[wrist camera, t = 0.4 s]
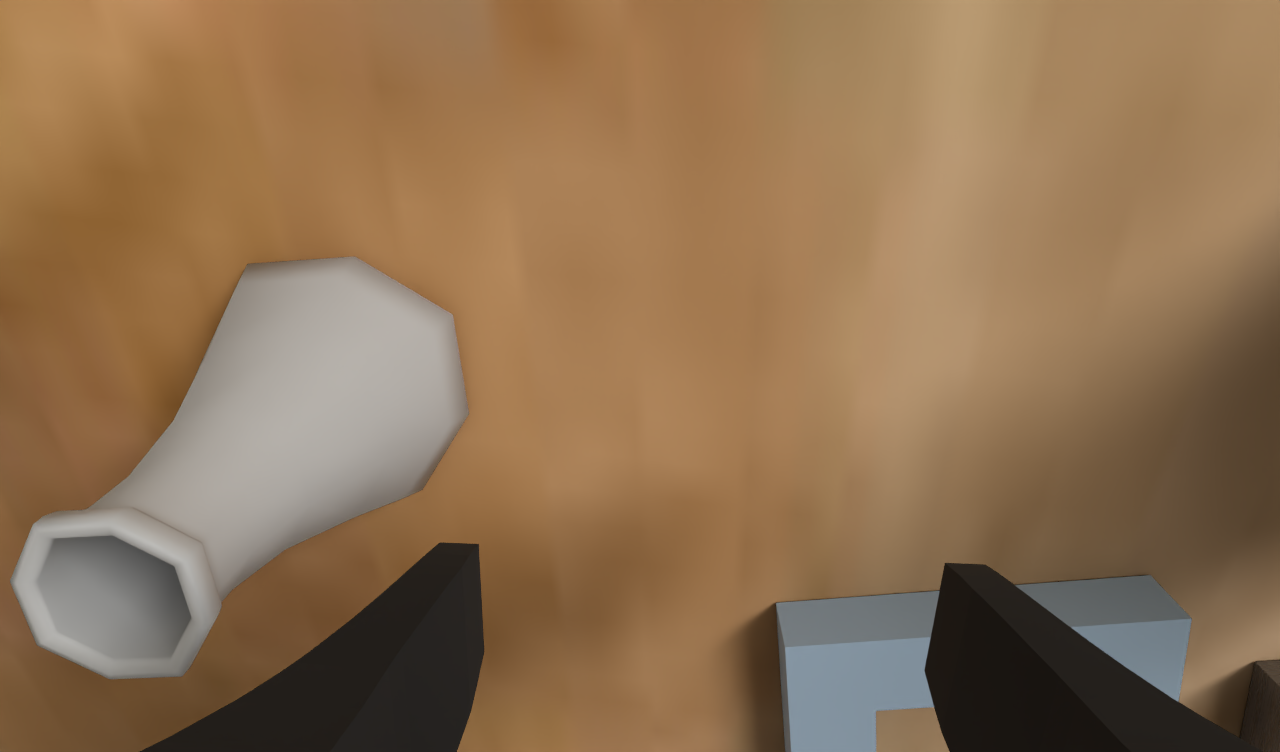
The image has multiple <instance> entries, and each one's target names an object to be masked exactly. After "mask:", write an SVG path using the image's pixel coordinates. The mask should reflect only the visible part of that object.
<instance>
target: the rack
mask: <svg viewBox="0 0 1280 752" xmlns="http://www.w3.org/2000/svg"><path fill="white" fill-rule="evenodd" d="M1015 586H1016V587H1018V588H1019V589H1020V590H1022V591H1023V592H1024V593H1026V594H1027V595H1028V596H1030V597H1031V598H1032V599H1034V600H1035V601H1036V602H1038V603H1039V604H1040V605H1042V606H1043V607H1044V608H1046V609H1047V610H1048V611H1050V612H1051V613H1052V614H1054V615H1055V616H1056V617H1058V618H1059V619H1060V620H1062V621H1063V622H1064V623H1066V624H1067V625H1068V626H1070V627H1071V628H1072V629H1074V630H1075V631H1076V632H1078V633H1079V634H1080V635H1082V636H1083V637H1084V638H1086V639H1087V640H1088V641H1090V642H1091V643H1093V644H1094V645H1095V646H1097V647H1098V648H1100V649H1101V650H1102V651H1104V652H1105V653H1106V654H1108V655H1109V656H1111V657H1112V658H1114V659H1115V660H1116V661H1118V662H1119V663H1121V664H1122V665H1124V666H1125V667H1126V668H1128V669H1129V670H1131V671H1132V672H1134V673H1135V674H1137V675H1138V676H1140V677H1141V678H1143V679H1144V680H1146V681H1147V682H1149V683H1150V684H1152V685H1153V686H1155V687H1156V688H1158V689H1159V690H1161V691H1162V692H1164V693H1165V694H1167V695H1168V696H1170V697H1171V698H1173V699H1174V700H1176V701H1179V695H1180V689H1181V683H1182V676H1183V670H1184V664H1185V658H1186V652H1187V645H1188V639H1189V633H1190V627H1191V621H1192V618H1191V617H1190V616H1189V615H1188V614H1187V613H1186V612H1185V611H1184V610H1183V609H1182V608H1181V607H1180V606H1179V605H1178V604H1177V603H1176V602H1175V600H1174V599H1173V598H1172V597H1171V596H1170V595H1169V594H1168V593H1167V592H1166V591H1165V590H1164V589H1163V588H1162V587H1161V586H1160V585H1159V584H1158V583H1157V582H1156V581H1155V580H1154V578H1153V577H1152V576H1151V575H1145V576H1131V577H1118V578H1104V579H1091V580H1077V581H1064V582H1050V583H1037V584H1023V585H1015ZM939 592H940V591H929V592H916V593H902V594H889V595H875V596H862V597H849V598H835V599H822V600H808V601H795V602H781V603H776V613H777V629H778V644H779V660H780V676H781V692H782V708H783V724H784V740H785V752H876V711H880V710H896V709H911V708H927V707H934V705H933V701H932V697H931V693H930V690H929V686H928V682H927V679H926V675H925V671H924V669H925V664H926V659H927V654H928V649H929V643H930V638H931V633H932V628H933V623H934V618H935V612H936V607H937V602H938V597H939Z"/></svg>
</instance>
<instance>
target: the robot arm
mask: <svg viewBox="0 0 1280 752" xmlns="http://www.w3.org/2000/svg"><path fill="white" fill-rule="evenodd" d="M483 655H484V639H483V620H482V600H481V581H480V562H479V544H462V543H439V544H438V545H436V546H435V547H434V548H433V549H432V550H431V551H429V552H428V553H427V554H426V555H425V556H424V557H422V558H421V559H420V560H419V561H418V562H417V563H416V564H415V565H413V566H412V567H411V568H410V569H409V570H408V571H407V572H406V573H405V574H403V575H402V576H401V577H400V578H399V579H398V580H397V581H396V582H394V583H393V584H392V585H391V586H390V587H389V588H388V589H387V590H385V591H384V592H383V593H382V594H381V595H380V596H379V597H377V598H376V599H375V600H374V601H373V602H371V603H370V604H369V605H368V606H367V607H366V608H364V609H363V610H362V611H361V612H360V613H359V614H357V615H356V616H355V617H354V618H353V619H351V620H350V621H349V622H347V623H346V624H345V625H344V626H342V627H341V628H340V629H338V630H337V631H336V632H335V633H333V634H332V635H331V636H329V637H328V638H327V639H325V640H324V641H323V642H322V643H320V644H319V645H318V646H316V647H315V648H314V649H313V650H311V651H310V652H309V653H307V654H306V655H304V656H303V657H302V658H300V659H299V660H297V661H296V662H295V663H293V664H292V665H290V666H289V667H287V668H286V669H284V670H283V671H281V672H280V673H278V674H277V675H275V676H274V677H272V678H271V679H269V680H267V681H266V682H264V683H263V684H261V685H260V686H258V687H257V688H255V689H253V690H252V691H250V692H249V693H247V694H245V695H244V696H242V697H240V698H239V699H237V700H235V701H234V702H232V703H230V704H228V705H227V706H225V707H223V708H221V709H219V710H218V711H216V712H214V713H212V714H210V715H208V716H207V717H205V718H203V719H201V720H199V721H198V722H196V723H194V724H192V725H190V726H189V727H187V728H185V729H183V730H181V731H179V732H178V733H176V734H174V735H172V736H170V737H168V738H166V739H164V740H162V741H160V742H158V743H156V744H154V745H152V746H150V747H148V748H146V749H144V750H142V751H140V752H457V749H458V747H459V744H460V741H461V738H462V735H463V733H464V730H465V727H466V724H467V721H468V718H469V715H470V712H471V708H472V704H473V700H474V695H475V691H476V687H477V682H478V678H479V673H480V668H481V664H482V659H483ZM924 671H925V675H926V679H927V682H928V686H929V690H930V693H931V697H932V701H933V705H934V708H935V711H936V715H937V718H938V721H939V724H940V728H941V731H942V734H943V736H944V739H945V741H946V744H947V746H948V748H949V751H950V752H1263V751H1261V750H1259V749H1258V748H1256V747H1254V746H1252V745H1250V744H1248V743H1247V742H1245V741H1243V740H1242V739H1240V738H1238V737H1236V736H1235V735H1233V734H1231V733H1230V732H1228V731H1226V730H1224V729H1223V728H1221V727H1219V726H1218V725H1216V724H1214V723H1212V722H1211V721H1209V720H1207V719H1206V718H1204V717H1202V716H1200V715H1199V714H1197V713H1195V712H1194V711H1192V710H1191V709H1189V708H1187V707H1186V706H1184V705H1182V704H1181V703H1179V702H1178V701H1176V700H1174V699H1173V698H1171V697H1170V696H1168V695H1167V694H1165V693H1164V692H1162V691H1161V690H1159V689H1158V688H1156V687H1155V686H1153V685H1152V684H1150V683H1149V682H1147V681H1146V680H1144V679H1143V678H1141V677H1140V676H1138V675H1137V674H1135V673H1134V672H1132V671H1131V670H1129V669H1128V668H1126V667H1125V666H1124V665H1122V664H1121V663H1119V662H1118V661H1116V660H1115V659H1114V658H1112V657H1111V656H1109V655H1108V654H1106V653H1105V652H1104V651H1102V650H1101V649H1100V648H1098V647H1097V646H1095V645H1094V644H1093V643H1091V642H1090V641H1088V640H1087V639H1086V638H1084V637H1083V636H1082V635H1080V634H1079V633H1078V632H1076V631H1075V630H1074V629H1072V628H1071V627H1070V626H1068V625H1067V624H1066V623H1064V622H1063V621H1062V620H1060V619H1059V618H1058V617H1056V616H1055V615H1054V614H1052V613H1051V612H1050V611H1048V610H1047V609H1046V608H1044V607H1043V606H1042V605H1040V604H1039V603H1038V602H1036V601H1035V600H1034V599H1032V598H1031V597H1030V596H1028V595H1027V594H1026V593H1024V592H1023V591H1022V590H1020V589H1019V588H1018V587H1016V586H1015V585H1014V584H1012V583H1011V582H1010V581H1008V580H1007V579H1006V578H1004V577H1003V576H1001V575H1000V574H999V573H997V572H996V571H994V570H993V569H991V568H990V567H988V566H986V565H981V564H956V563H945V566H944V571H943V576H942V581H941V587H940V592H939V597H938V602H937V607H936V612H935V618H934V623H933V628H932V633H931V638H930V643H929V649H928V654H927V659H926V664H925V669H924Z"/></svg>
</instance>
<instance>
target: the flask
mask: <svg viewBox="0 0 1280 752" xmlns="http://www.w3.org/2000/svg"><path fill="white" fill-rule="evenodd" d="M468 415H469V410H468V404H467V398H466V392H465V386H464V380H463V374H462V368H461V362H460V356H459V350H458V344H457V338H456V332H455V325H454V319H453V315H452V314H451V313H449V312H447V311H446V310H444V309H442V308H441V307H439V306H437V305H436V304H434V303H432V302H431V301H429V300H427V299H426V298H424V297H422V296H421V295H419V294H417V293H415V292H414V291H412V290H410V289H409V288H407V287H405V286H404V285H402V284H400V283H399V282H397V281H395V280H394V279H392V278H390V277H389V276H387V275H385V274H384V273H382V272H380V271H378V270H377V269H375V268H373V267H372V266H370V265H368V264H367V263H365V262H363V261H362V260H360V259H358V258H357V257H340V258H326V259H311V260H297V261H282V262H268V263H253V264H247V266H246V268H245V270H244V272H243V274H242V276H241V278H240V280H239V282H238V284H237V286H236V289H235V291H234V293H233V295H232V297H231V299H230V302H229V304H228V306H227V308H226V310H225V312H224V315H223V317H222V319H221V321H220V323H219V325H218V328H217V330H216V332H215V334H214V336H213V338H212V341H211V343H210V345H209V347H208V349H207V351H206V354H205V356H204V358H203V360H202V362H201V364H200V367H199V369H198V371H197V374H196V376H195V379H194V381H193V383H192V385H191V387H190V389H189V391H188V393H187V395H186V397H185V399H184V401H183V403H182V405H181V407H180V409H179V411H178V413H177V415H176V417H175V419H174V421H173V422H172V423H171V424H170V426H169V427H168V428H167V429H166V431H165V432H164V433H163V434H162V436H161V437H160V438H159V439H158V440H157V442H156V443H155V444H154V445H153V447H152V448H151V449H150V450H149V452H148V453H147V454H146V455H145V457H144V458H143V459H142V460H141V462H140V463H139V464H138V465H137V466H136V468H135V469H134V470H133V471H132V473H131V474H130V475H129V476H128V477H127V478H126V479H124V480H123V481H122V482H121V483H119V484H118V485H117V486H116V487H114V488H113V489H112V490H111V491H109V492H108V493H107V494H106V495H104V496H103V497H102V498H101V499H99V500H98V501H97V502H96V503H94V504H93V505H92V506H90V507H89V508H87V509H85V510H71V511H56V512H53V513H51V514H48V515H45V516H43V517H42V518H40V519H39V520H38V521H37V522H36V523H34V524H33V526H32V529H31V531H30V533H29V536H28V538H27V541H26V543H25V546H24V548H23V551H22V553H21V555H20V558H19V560H18V563H17V565H16V568H15V570H14V573H13V575H12V577H11V580H10V583H11V585H12V588H13V590H14V592H15V595H16V597H17V599H18V602H19V604H20V606H21V609H22V611H23V613H24V616H25V618H26V620H27V623H28V625H29V627H30V630H31V632H32V635H33V637H34V639H35V642H36V644H37V645H38V646H40V647H42V648H44V649H46V650H48V651H50V652H53V653H55V654H57V655H59V656H61V657H63V658H65V659H68V660H70V661H72V662H74V663H76V664H78V665H80V666H83V667H85V668H87V669H89V670H91V671H93V672H95V673H97V674H100V675H102V676H104V677H106V678H108V679H129V678H154V677H180V676H183V675H184V674H185V672H186V671H187V670H188V669H189V668H190V667H191V665H192V663H193V661H194V659H195V657H196V655H197V654H198V652H199V650H200V648H201V646H202V644H203V642H204V641H205V639H206V637H207V635H208V633H209V631H210V629H211V628H212V626H213V624H214V622H215V620H216V618H217V616H218V614H219V612H220V609H221V607H222V605H221V602H222V601H223V600H224V599H225V598H226V596H227V595H228V594H229V593H230V592H231V591H232V590H233V589H234V588H235V587H236V586H238V585H239V584H240V583H242V582H243V581H244V580H246V579H247V578H248V577H250V576H251V575H252V574H254V573H255V572H256V571H258V570H259V569H260V568H262V567H263V566H264V565H265V564H267V563H268V562H269V561H271V560H272V559H273V558H275V557H276V556H277V555H279V554H280V553H281V552H283V551H284V550H285V549H287V548H290V547H292V546H294V545H296V544H298V543H300V542H302V541H305V540H307V539H309V538H311V537H313V536H315V535H318V534H320V533H322V532H324V531H326V530H328V529H330V528H333V527H335V526H337V525H339V524H341V523H343V522H346V521H348V520H350V519H352V518H354V517H356V516H359V515H362V514H364V513H367V512H369V511H372V510H374V509H377V508H379V507H382V506H385V505H387V504H390V503H392V502H395V501H397V500H400V499H402V498H405V497H407V496H409V495H412V494H414V493H416V492H418V491H420V490H422V489H423V488H424V486H425V485H426V483H427V481H428V480H429V478H430V476H431V475H432V473H433V472H434V470H435V468H436V467H437V465H438V463H439V462H440V460H441V459H442V457H443V455H444V454H445V452H446V450H447V449H448V447H449V446H450V444H451V442H452V441H453V439H454V437H455V436H456V434H457V433H458V431H459V429H460V428H461V426H462V424H463V423H464V421H465V419H466V418H467V416H468Z"/></svg>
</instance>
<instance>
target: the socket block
mask: <svg viewBox="0 0 1280 752" xmlns="http://www.w3.org/2000/svg"><path fill="white" fill-rule="evenodd" d="M1240 739H1242V740H1243V741H1245V742H1247V743H1248V744H1250V745H1252V746H1254V747H1256V748H1258V749H1259V750H1261V751H1263V752H1280V660H1274V661H1259V662H1255V665H1254V670H1253V675H1252V680H1251V685H1250V690H1249V695H1248V700H1247V705H1246V710H1245V715H1244V720H1243V725H1242V730H1241V735H1240Z"/></svg>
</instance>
